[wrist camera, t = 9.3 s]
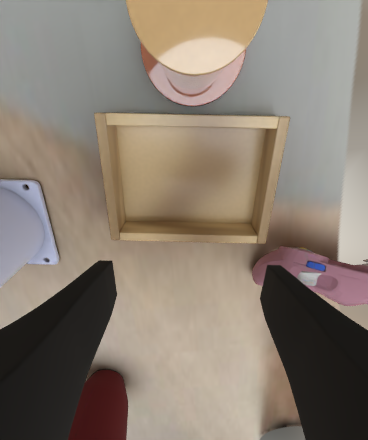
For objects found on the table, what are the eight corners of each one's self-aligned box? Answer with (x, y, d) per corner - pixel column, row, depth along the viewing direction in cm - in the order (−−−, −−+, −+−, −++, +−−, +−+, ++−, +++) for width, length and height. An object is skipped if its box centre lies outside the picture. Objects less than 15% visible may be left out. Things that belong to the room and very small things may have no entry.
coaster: (144, 105, 16) (143, 105, 16) (138, -22, 13) (136, -26, 13) (238, 107, 16) (239, 107, 16) (252, -21, 13) (254, -24, 13)
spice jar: (155, 90, 15) (129, 73, 9) (152, -5, 13) (115, -125, 7) (227, 91, 15) (258, 76, 9) (236, -4, 13) (285, -123, 7)
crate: (120, 225, 20) (111, 240, 18) (107, 112, 16) (93, 112, 14) (256, 228, 20) (265, 244, 18) (276, 115, 16) (291, 116, 14)
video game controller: (348, 256, 23) (430, 272, 16) (338, 301, 23) (416, 336, 16) (256, 232, 22) (300, 237, 15) (244, 279, 22) (284, 306, 15)
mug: (54, 385, 31) (-1, 500, 22) (59, 348, 27) (-4, 464, 18) (132, 401, 32) (109, 515, 23) (145, 366, 29) (125, 484, 20)
